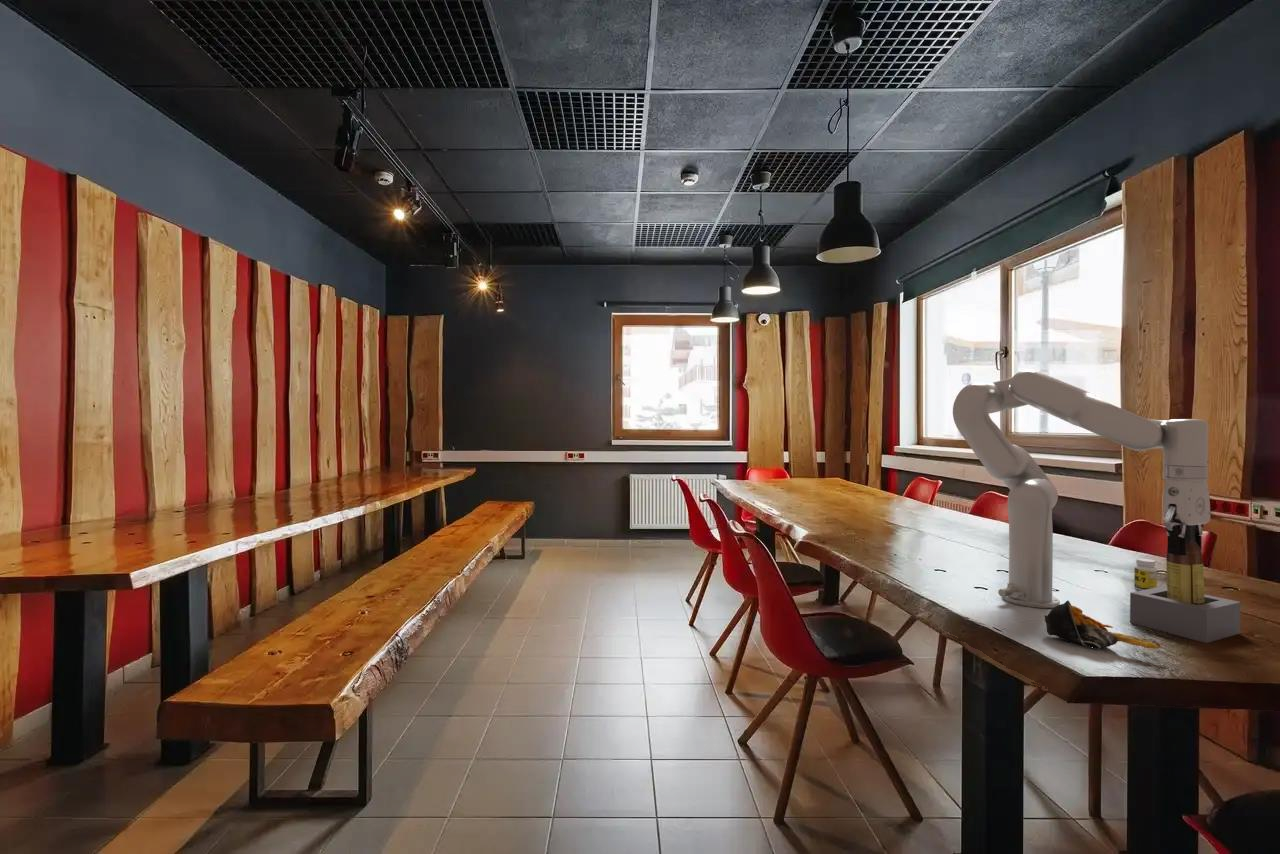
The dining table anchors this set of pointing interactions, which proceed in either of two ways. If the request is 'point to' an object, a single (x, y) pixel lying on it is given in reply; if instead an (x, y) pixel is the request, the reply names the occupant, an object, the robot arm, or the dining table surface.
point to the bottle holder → (1185, 615)
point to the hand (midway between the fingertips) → (1184, 552)
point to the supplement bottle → (1145, 574)
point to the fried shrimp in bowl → (1087, 629)
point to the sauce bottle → (1186, 571)
